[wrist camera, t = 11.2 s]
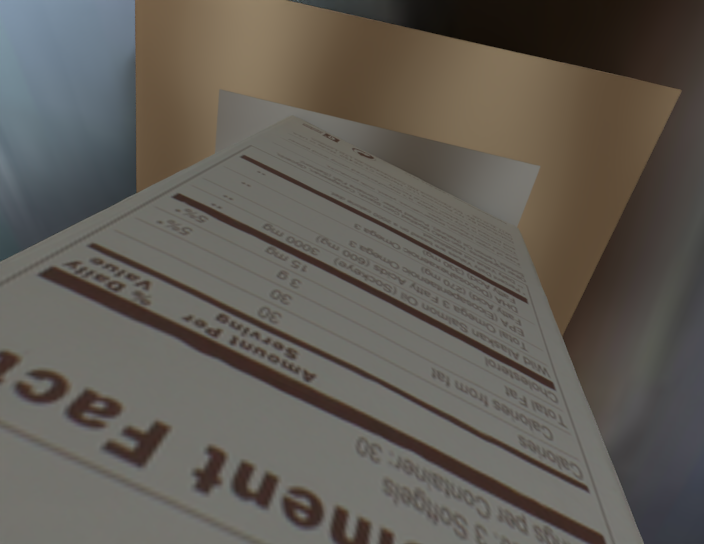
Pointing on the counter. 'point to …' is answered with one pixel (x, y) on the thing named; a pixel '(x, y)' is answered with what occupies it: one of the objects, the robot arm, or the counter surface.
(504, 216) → the oak plinth
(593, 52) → the counter surface
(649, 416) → the counter surface
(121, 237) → the supplement box
